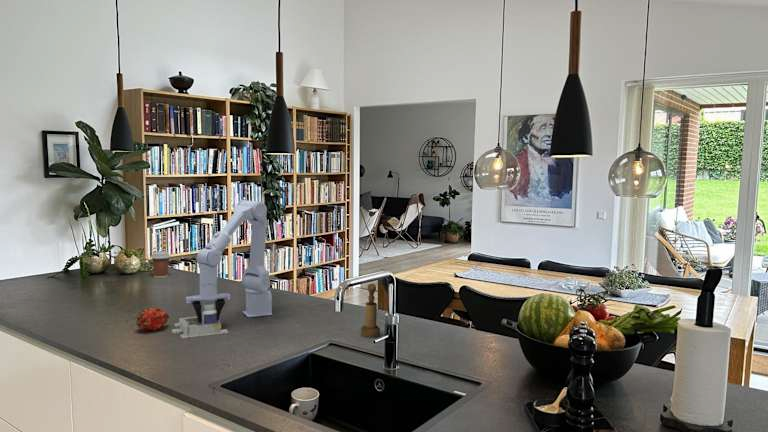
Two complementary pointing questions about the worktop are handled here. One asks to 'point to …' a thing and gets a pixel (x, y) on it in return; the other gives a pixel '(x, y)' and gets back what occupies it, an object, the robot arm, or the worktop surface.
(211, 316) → the pill bottle
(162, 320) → the dragon fruit
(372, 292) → the brown wooden tall piece
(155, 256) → the coffee cup
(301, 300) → the worktop surface
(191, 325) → the socket
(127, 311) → the worktop surface
